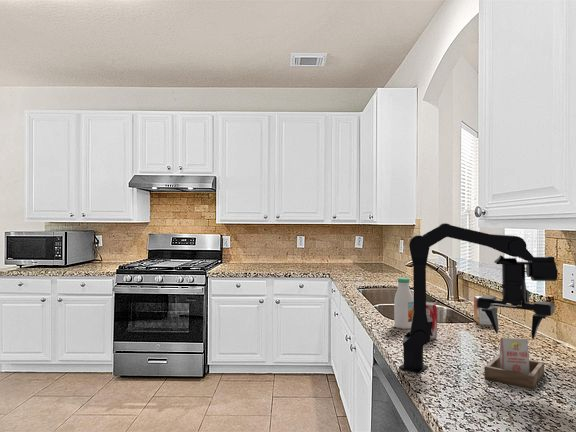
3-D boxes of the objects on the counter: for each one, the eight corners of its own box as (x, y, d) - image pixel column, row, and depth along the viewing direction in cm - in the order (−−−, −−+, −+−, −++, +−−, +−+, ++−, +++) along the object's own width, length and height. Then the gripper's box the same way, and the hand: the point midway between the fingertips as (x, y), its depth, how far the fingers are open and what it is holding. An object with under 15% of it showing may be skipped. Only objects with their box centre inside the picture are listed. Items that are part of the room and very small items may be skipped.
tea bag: (499, 370, 125) (499, 335, 125) (526, 372, 123) (525, 337, 123) (502, 375, 121) (501, 339, 121) (529, 377, 119) (528, 341, 119)
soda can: (421, 334, 167) (421, 300, 167) (440, 337, 163) (439, 302, 163) (414, 338, 162) (413, 303, 162) (433, 341, 157) (432, 305, 157)
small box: (473, 320, 189) (473, 295, 189) (487, 320, 188) (487, 296, 188) (479, 324, 181) (479, 299, 181) (493, 324, 180) (493, 299, 181)
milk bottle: (402, 330, 174) (401, 280, 174) (390, 325, 181) (390, 277, 181) (417, 327, 177) (417, 278, 177) (405, 323, 184) (405, 276, 184)
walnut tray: (533, 389, 113) (533, 376, 113) (484, 379, 121) (484, 366, 121) (544, 374, 123) (543, 362, 123) (498, 365, 131) (498, 354, 131)
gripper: (557, 279, 122) (558, 335, 122) (487, 274, 134) (488, 325, 134) (549, 284, 114) (550, 344, 114) (475, 278, 126) (476, 332, 126)
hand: (514, 335), depth 122 cm, fingers open, 9 cm apart
